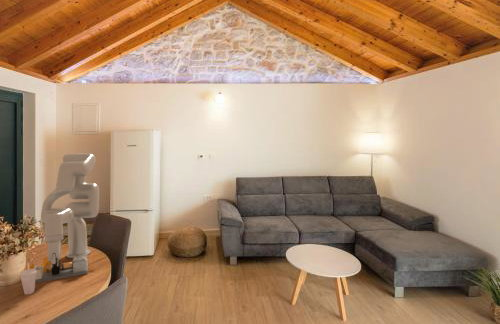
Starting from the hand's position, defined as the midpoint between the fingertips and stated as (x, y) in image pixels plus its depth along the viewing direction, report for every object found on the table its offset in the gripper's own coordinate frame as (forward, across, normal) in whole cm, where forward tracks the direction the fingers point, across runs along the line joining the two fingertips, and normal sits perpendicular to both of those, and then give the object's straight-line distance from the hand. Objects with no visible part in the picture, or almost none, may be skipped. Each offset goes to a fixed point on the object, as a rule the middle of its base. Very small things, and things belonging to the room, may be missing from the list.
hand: (56, 271), depth 153 cm
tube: (0, 0, +4) cm, 4 cm away
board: (+2, 0, +2) cm, 3 cm away
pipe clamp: (+2, -7, -8) cm, 11 cm away
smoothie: (+2, +14, -9) cm, 16 cm away
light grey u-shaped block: (+1, 0, -8) cm, 8 cm away
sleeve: (+1, 0, +11) cm, 11 cm away
